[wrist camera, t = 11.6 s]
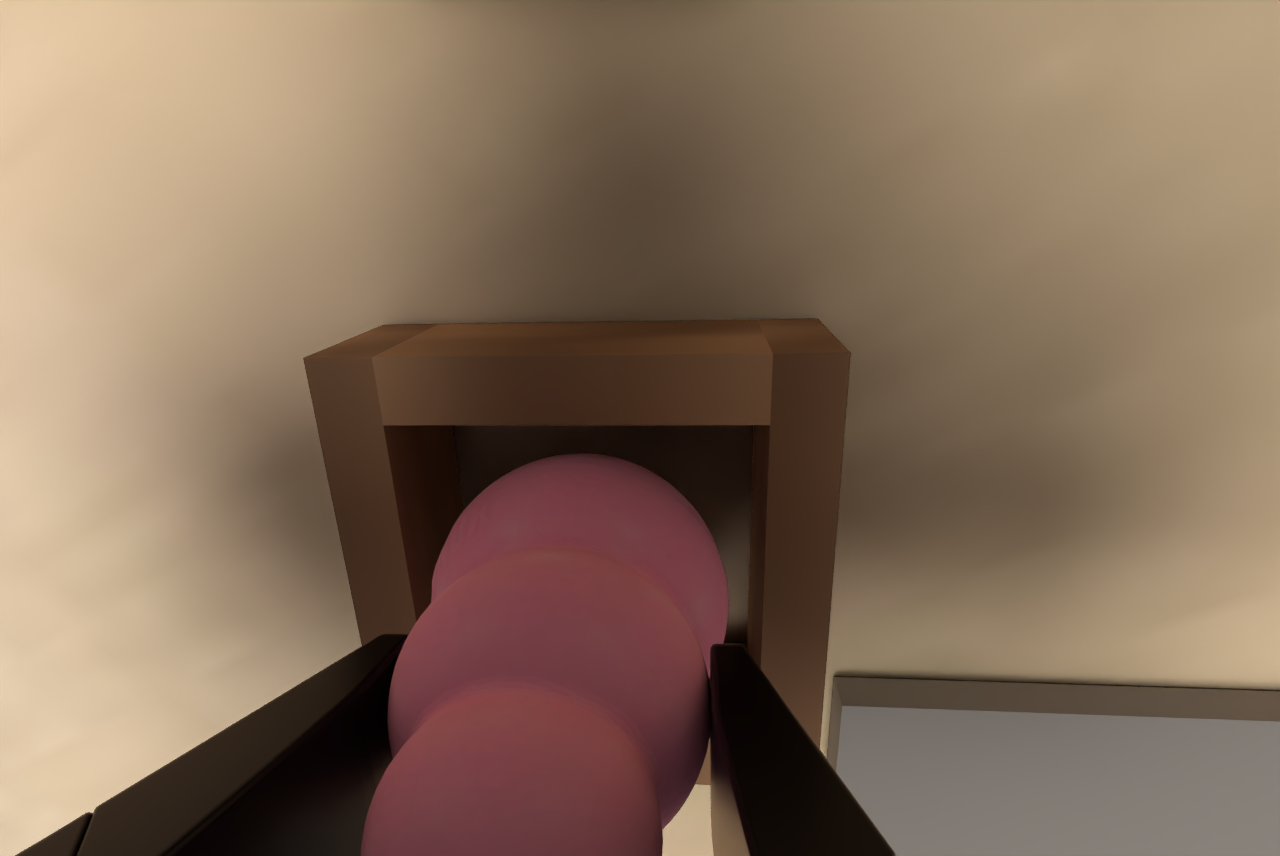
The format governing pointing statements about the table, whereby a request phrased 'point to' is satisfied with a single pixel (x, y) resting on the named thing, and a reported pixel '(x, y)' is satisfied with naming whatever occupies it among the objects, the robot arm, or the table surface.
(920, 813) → the slate mat
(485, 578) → the dog chew toy
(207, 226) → the table surface
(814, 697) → the toy holder
